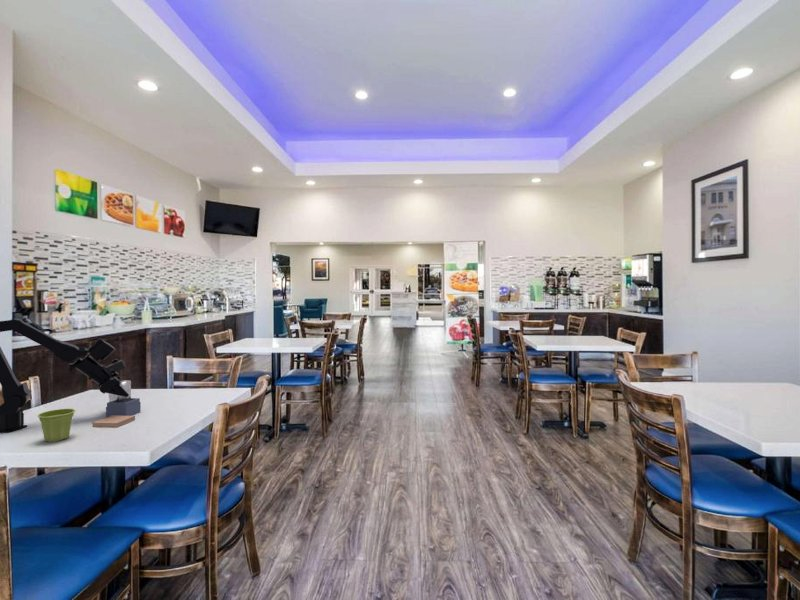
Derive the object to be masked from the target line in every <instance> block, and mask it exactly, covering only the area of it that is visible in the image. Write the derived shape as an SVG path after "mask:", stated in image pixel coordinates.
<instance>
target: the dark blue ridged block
mask: <svg viewBox="0 0 800 600" xmlns="http://www.w3.org/2000/svg"><path fill="white" fill-rule="evenodd" d="M141 403H142V402H141V400H140V398H139V397H134V398H133V397H131V401H128V402H126V403H120V402H116V400H114V401H111V402H109V401H108V402H106V407H105V418H107V417H109V416H112V415H117V416H135V415H136V414H138V413H140V412H141V409H142V408H141Z"/></svg>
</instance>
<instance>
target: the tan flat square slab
mask: <svg viewBox="0 0 800 600" xmlns="http://www.w3.org/2000/svg"><path fill="white" fill-rule="evenodd" d="M135 420H136V416H135V415H131V416H117V415H112V416H109V417H104V418H102V419H99V420H97V421H93V422H92V427H93V428H119V427H121V426H124V425H126V424H128V423H130V422H133V421H135Z"/></svg>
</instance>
